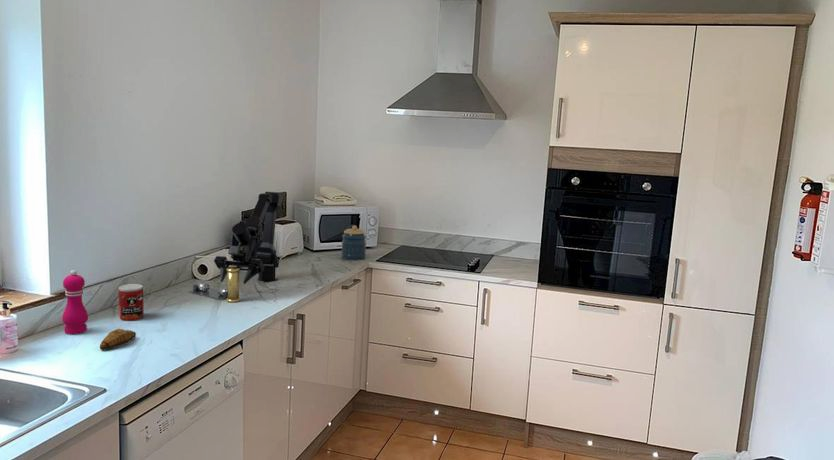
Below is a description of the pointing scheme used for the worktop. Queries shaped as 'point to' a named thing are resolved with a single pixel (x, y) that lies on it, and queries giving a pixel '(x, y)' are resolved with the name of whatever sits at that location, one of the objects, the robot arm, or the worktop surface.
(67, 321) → the pepper mill
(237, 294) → the gold flanged cylinder
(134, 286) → the canned food
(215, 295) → the shaft bed
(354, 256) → the canister
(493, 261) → the worktop surface
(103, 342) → the croissant
